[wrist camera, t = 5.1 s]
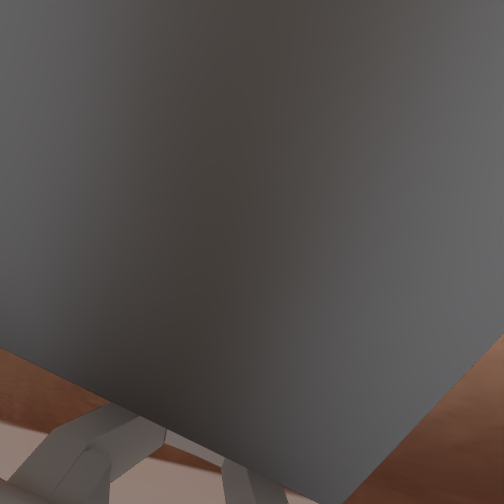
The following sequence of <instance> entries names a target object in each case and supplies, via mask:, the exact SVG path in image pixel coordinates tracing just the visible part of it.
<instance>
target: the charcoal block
mask: <svg viewBox="0 0 504 504" xmlns="http://www.w3.org/2000/svg"><path fill="white" fill-rule="evenodd" d="M503 333H504V0H0V348H3V349H5V350H7V351H9V352H11V353H13V354H15V355H17V356H19V357H21V358H23V359H25V360H27V361H29V362H31V363H33V364H35V365H37V366H39V367H41V368H43V369H45V370H47V371H49V372H52V373H54V374H56V375H58V376H60V377H62V378H64V379H66V380H68V381H70V382H72V383H74V384H76V385H78V386H80V387H82V388H84V389H86V390H88V391H90V392H92V393H94V394H96V395H98V396H101V397H103V398H105V399H107V400H109V401H111V402H113V403H115V404H117V405H119V406H121V407H123V408H125V409H127V410H129V411H131V412H133V413H135V414H137V415H139V416H141V417H143V418H145V419H147V420H150V421H152V422H154V423H156V424H158V425H160V426H162V427H164V428H166V429H168V430H170V431H172V432H174V433H176V434H178V435H180V436H182V437H184V438H186V439H188V440H190V441H192V442H194V443H196V444H199V445H201V446H203V447H205V448H207V449H209V450H211V451H213V452H215V453H217V454H219V455H221V456H223V457H225V458H227V459H229V460H231V461H233V462H235V463H237V464H239V465H241V466H243V467H246V468H248V469H250V470H252V471H254V472H256V473H258V474H260V475H262V476H264V477H266V478H268V479H270V480H272V481H274V482H276V483H278V484H280V485H282V486H284V487H286V488H288V489H290V490H292V491H295V492H297V493H299V494H301V495H303V496H305V497H307V498H309V499H311V500H313V501H315V502H317V503H319V504H343V503H344V502H345V501H346V499H347V498H348V497H349V496H350V495H351V494H352V493H353V492H354V491H355V490H356V489H357V488H358V487H359V486H360V485H361V484H362V483H363V481H364V480H365V479H366V478H367V477H368V476H369V475H370V474H371V473H372V472H373V471H374V470H375V469H376V468H377V467H378V466H379V465H380V463H381V462H382V461H383V460H384V459H385V458H386V457H387V456H388V455H389V454H390V453H391V452H392V451H393V450H394V449H395V448H396V447H397V445H398V444H399V443H400V442H401V441H402V440H403V439H404V438H405V437H406V436H407V435H408V434H409V433H410V432H411V431H412V430H413V429H414V427H415V426H416V425H417V424H418V423H419V422H420V421H421V420H422V419H423V418H424V417H425V416H426V415H427V414H428V413H429V412H430V411H431V409H432V408H433V407H434V406H435V405H436V404H437V403H438V402H439V401H440V400H441V399H442V398H443V397H444V396H445V395H446V394H447V393H448V391H449V390H450V389H451V388H452V387H453V386H454V385H455V384H456V383H457V382H458V381H459V380H460V379H461V378H462V377H463V376H464V375H465V374H466V372H467V371H468V370H469V369H470V368H471V367H472V366H473V365H474V364H475V363H476V362H477V361H478V360H479V359H480V358H481V357H482V356H483V354H484V353H485V352H486V351H487V350H488V349H489V348H490V347H491V346H492V345H493V344H494V343H495V342H496V341H497V340H498V339H499V338H500V336H501V335H502V334H503Z"/></svg>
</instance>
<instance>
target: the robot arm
mask: <svg viewBox="0 0 504 504" xmlns="http://www.w3.org/2000/svg"><path fill="white" fill-rule="evenodd" d="M163 443H165V444H168V445H170V446H173V447H175V448H178V449H181V450H183V451H186V452H188V453H191V454H193V455H195V456H198V457H200V458H202V459H204V460H206V461H209V462H211V463H213V464H215V465H217V466H219V467H221V473H222V480H223V487H224V493H225V500H226V504H288V501H287V498H286V495H285V492H284V489H283V486H282V485H280V484H278V483H276V482H274V481H272V480H270V479H268V478H266V477H264V476H262V475H260V474H258V473H256V472H254V471H252V470H250V469H248V468H246V467H243V466H241V465H239V464H237V463H235V462H233V461H231V460H229V459H227V458H225V457H223V456H221V455H219V454H217V453H215V452H213V451H211V450H209V449H207V448H205V447H203V446H201V445H199V444H196V443H194V442H192V441H190V440H188V439H186V438H184V437H182V436H180V435H178V434H176V433H174V432H172V431H170V430H168V429H166V428H164V427H162V426H160V425H158V424H156V423H154V422H152V421H150V420H147V419H145V418H143V417H141V416H139V415H137V414H135V413H133V412H131V411H129V410H127V409H125V408H123V407H121V406H119V405H117V404H115V403H113V402H110V403H108V404H106V405H103V406H101V407H99V408H97V409H95V410H93V411H90V412H88V413H86V414H84V415H82V416H80V417H78V418H75V419H73V420H71V421H69V422H67V423H65V424H62V425H60V426H58V427H56V428H54V429H53V430H52V431H51V432H50V434H49V435H48V436H47V437H46V438H45V439H44V440H43V442H42V443H41V444H40V445H39V446H38V447H37V448H36V449H35V451H34V452H33V453H32V454H31V455H30V456H29V457H28V458H27V459H26V461H25V462H24V463H23V464H22V465H21V466H20V467H19V468H18V470H17V471H16V472H15V473H14V474H13V475H12V476H11V477H10V479H9V480H8V481H5V480H3V479H1V478H0V504H109V488H110V483H111V482H113V481H114V480H115V479H117V478H118V477H119V476H121V475H122V474H124V473H125V472H126V471H128V470H129V469H131V468H132V467H133V466H135V465H136V464H138V463H139V462H140V461H142V460H143V459H145V458H146V457H147V456H149V455H150V454H151V453H153V452H154V451H156V450H157V449H158V448H160V447H161V446H163Z"/></svg>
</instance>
